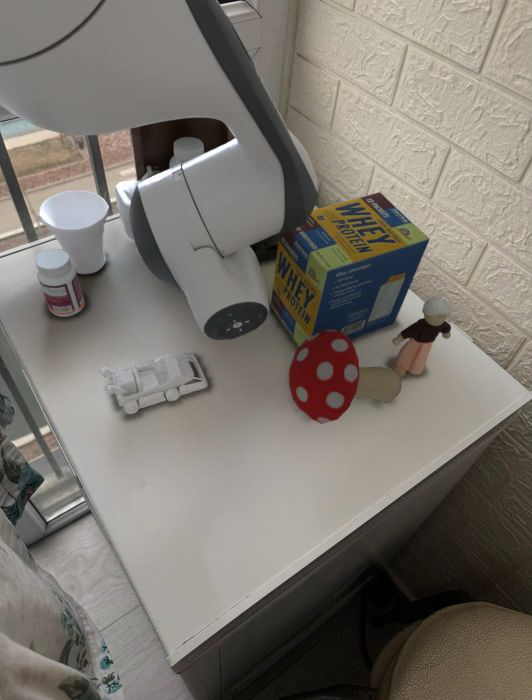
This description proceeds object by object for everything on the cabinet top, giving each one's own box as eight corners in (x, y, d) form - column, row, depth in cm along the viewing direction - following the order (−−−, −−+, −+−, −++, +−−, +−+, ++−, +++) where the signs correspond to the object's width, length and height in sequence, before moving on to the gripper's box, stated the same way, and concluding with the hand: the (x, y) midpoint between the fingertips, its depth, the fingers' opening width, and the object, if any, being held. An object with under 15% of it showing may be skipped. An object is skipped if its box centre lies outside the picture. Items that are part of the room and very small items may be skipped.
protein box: (268, 307, 73) (279, 216, 61) (355, 278, 78) (381, 190, 66) (305, 359, 67) (325, 271, 55) (396, 324, 72) (433, 237, 61)
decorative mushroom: (385, 333, 67) (286, 312, 61) (441, 359, 58) (331, 338, 51) (360, 409, 70) (263, 397, 63) (410, 447, 60) (301, 437, 53)
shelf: (149, 266, 76) (127, 87, 56) (141, 225, 82) (119, 50, 62) (240, 255, 79) (250, 83, 59) (226, 217, 85) (230, 48, 65)
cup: (48, 252, 76) (29, 194, 68) (110, 239, 79) (99, 183, 71) (59, 291, 71) (41, 234, 63) (125, 276, 74) (115, 219, 66)
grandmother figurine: (393, 386, 65) (425, 320, 56) (377, 364, 67) (405, 296, 58) (440, 370, 68) (479, 304, 58) (424, 349, 70) (459, 282, 60)
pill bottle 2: (214, 200, 76) (214, 138, 68) (202, 221, 72) (201, 158, 65) (180, 193, 76) (176, 130, 69) (166, 213, 73) (161, 149, 65)
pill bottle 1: (68, 288, 72) (54, 241, 65) (92, 303, 70) (80, 257, 64) (41, 306, 69) (23, 259, 62) (64, 323, 67) (49, 276, 61)
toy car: (210, 390, 63) (210, 369, 59) (113, 421, 59) (107, 400, 55) (194, 354, 66) (193, 332, 63) (101, 381, 62) (94, 359, 59)
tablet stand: (252, 265, 78) (253, 249, 76) (245, 254, 79) (246, 239, 77) (352, 243, 83) (356, 228, 81) (345, 233, 85) (348, 218, 83)
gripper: (291, 200, 61) (261, 141, 70) (118, 216, 57) (108, 151, 65) (285, 241, 66) (257, 182, 74) (125, 259, 62) (115, 193, 70)
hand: (187, 167), depth 70 cm, fingers open, 8 cm apart
